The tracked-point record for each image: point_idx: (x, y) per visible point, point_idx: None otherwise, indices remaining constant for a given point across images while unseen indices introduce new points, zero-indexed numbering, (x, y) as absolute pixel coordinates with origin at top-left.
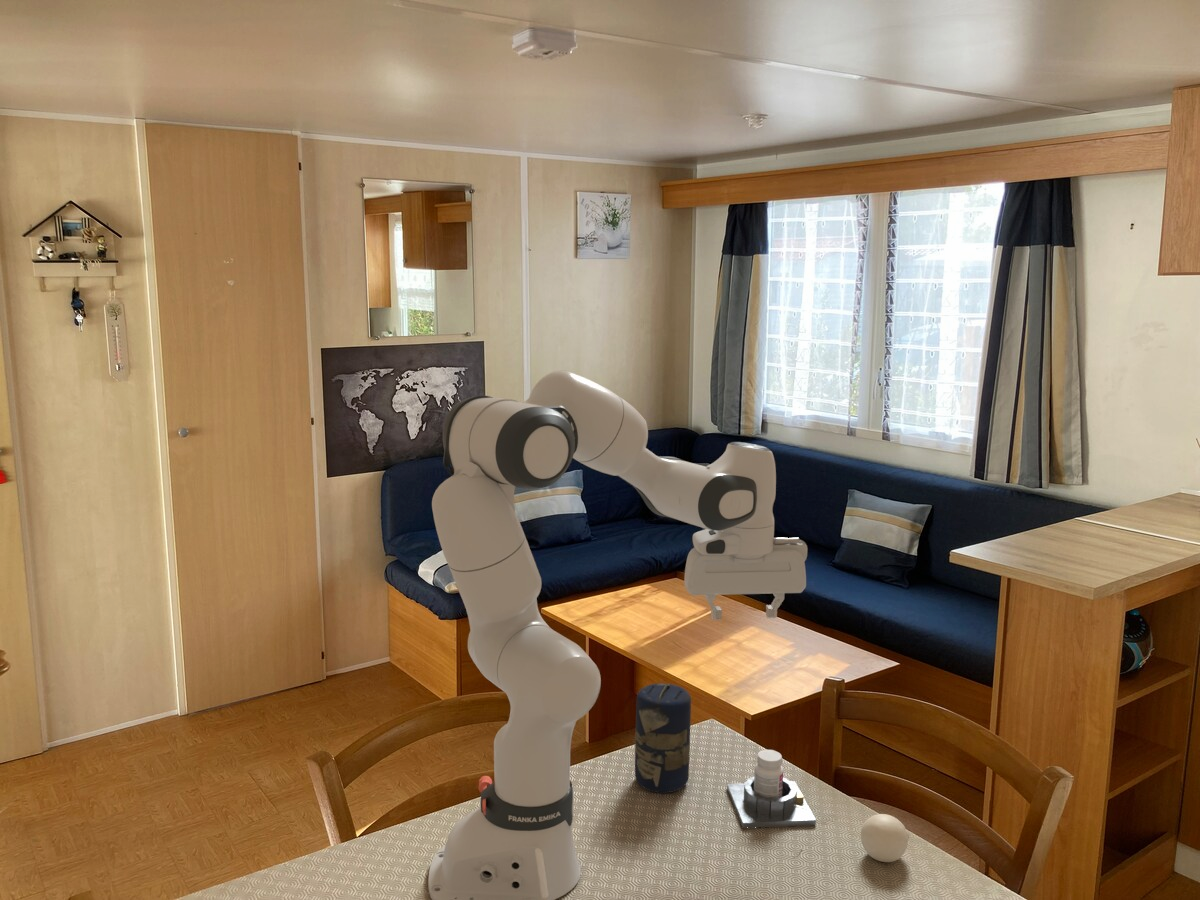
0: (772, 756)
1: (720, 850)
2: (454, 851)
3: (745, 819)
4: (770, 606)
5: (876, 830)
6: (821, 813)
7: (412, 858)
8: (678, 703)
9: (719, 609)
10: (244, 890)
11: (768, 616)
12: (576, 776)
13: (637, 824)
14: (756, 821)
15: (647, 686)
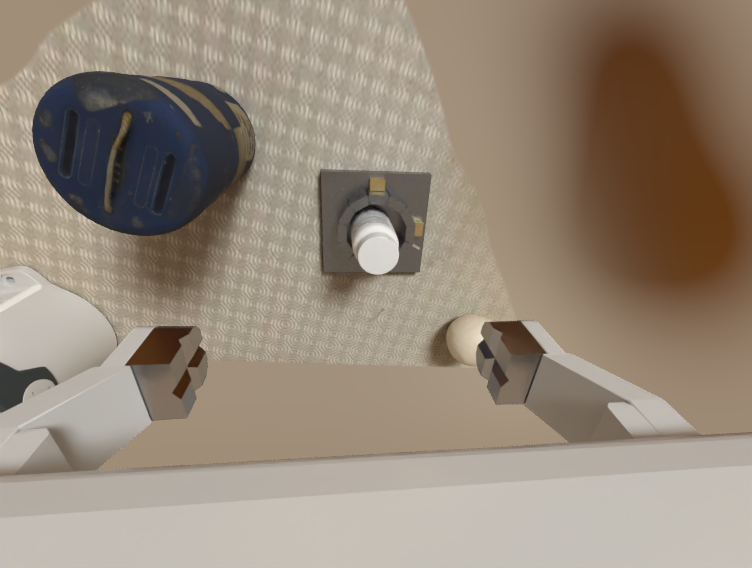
0: (382, 260)
1: (287, 305)
2: None
3: (328, 264)
4: (525, 375)
5: (461, 361)
6: (437, 244)
7: None
8: (169, 228)
9: (170, 410)
10: None
11: (478, 369)
12: (35, 90)
13: (177, 248)
14: (342, 269)
15: (51, 111)
